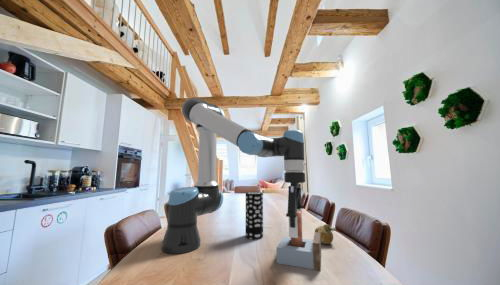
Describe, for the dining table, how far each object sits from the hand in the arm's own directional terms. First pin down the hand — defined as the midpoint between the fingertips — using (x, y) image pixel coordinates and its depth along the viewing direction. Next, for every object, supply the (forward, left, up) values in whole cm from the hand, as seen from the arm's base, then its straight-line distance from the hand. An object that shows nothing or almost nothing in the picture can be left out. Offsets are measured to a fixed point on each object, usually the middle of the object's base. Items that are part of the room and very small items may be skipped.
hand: (296, 231), depth 72 cm
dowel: (0, 0, -9) cm, 9 cm away
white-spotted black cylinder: (-22, +17, -9) cm, 29 cm away
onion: (+9, +20, -10) cm, 24 cm away
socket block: (0, 0, -9) cm, 9 cm away
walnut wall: (+7, 0, -9) cm, 12 cm away
